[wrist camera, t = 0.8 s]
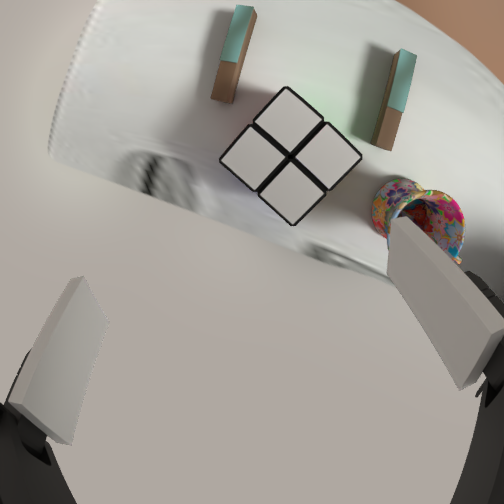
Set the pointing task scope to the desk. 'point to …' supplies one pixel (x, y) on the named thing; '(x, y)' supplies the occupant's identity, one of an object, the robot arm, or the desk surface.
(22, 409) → the robot arm
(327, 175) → the puzzle cube
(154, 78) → the desk surface
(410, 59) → the channel
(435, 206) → the mug
